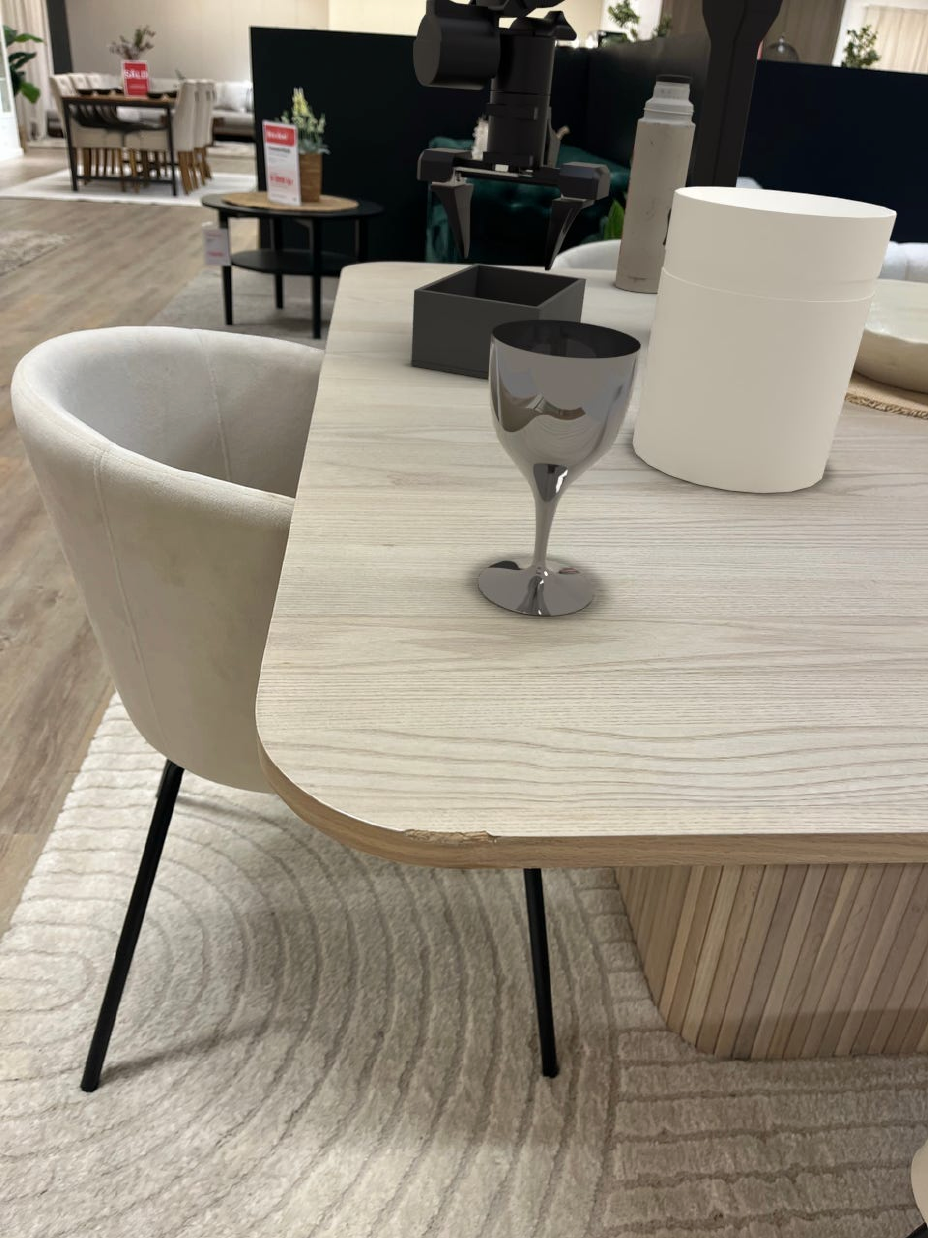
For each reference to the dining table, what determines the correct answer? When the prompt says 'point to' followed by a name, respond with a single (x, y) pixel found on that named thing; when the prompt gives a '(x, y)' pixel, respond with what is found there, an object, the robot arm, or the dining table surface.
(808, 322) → the canister
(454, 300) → the bin
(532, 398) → the wine glass
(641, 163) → the thermos bottle
